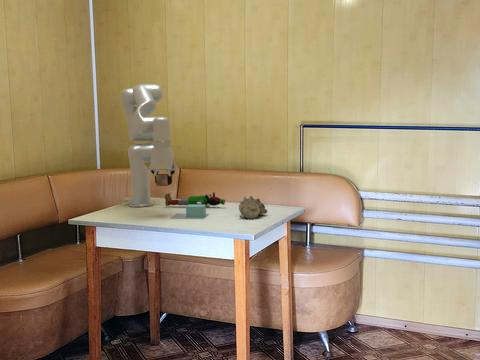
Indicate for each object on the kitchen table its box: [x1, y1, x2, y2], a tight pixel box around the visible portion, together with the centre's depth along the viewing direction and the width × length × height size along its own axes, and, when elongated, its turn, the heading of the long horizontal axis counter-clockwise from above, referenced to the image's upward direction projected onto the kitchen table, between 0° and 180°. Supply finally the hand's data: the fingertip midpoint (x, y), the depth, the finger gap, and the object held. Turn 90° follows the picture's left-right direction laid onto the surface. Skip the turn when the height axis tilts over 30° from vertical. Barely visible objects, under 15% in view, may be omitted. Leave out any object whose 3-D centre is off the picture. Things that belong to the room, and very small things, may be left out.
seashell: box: [238, 195, 268, 220], centre depth 274 cm, size 11×15×10 cm
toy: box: [164, 192, 226, 213], centre depth 299 cm, size 33×8×30 cm
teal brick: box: [185, 204, 207, 218], centre depth 274 cm, size 8×5×5 cm, turn 80°
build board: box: [169, 212, 210, 220], centre depth 275 cm, size 16×12×1 cm
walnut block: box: [155, 173, 172, 187], centre depth 274 cm, size 5×5×5 cm
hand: (163, 184), depth 275 cm, fingers closed on walnut block, 5 cm apart
